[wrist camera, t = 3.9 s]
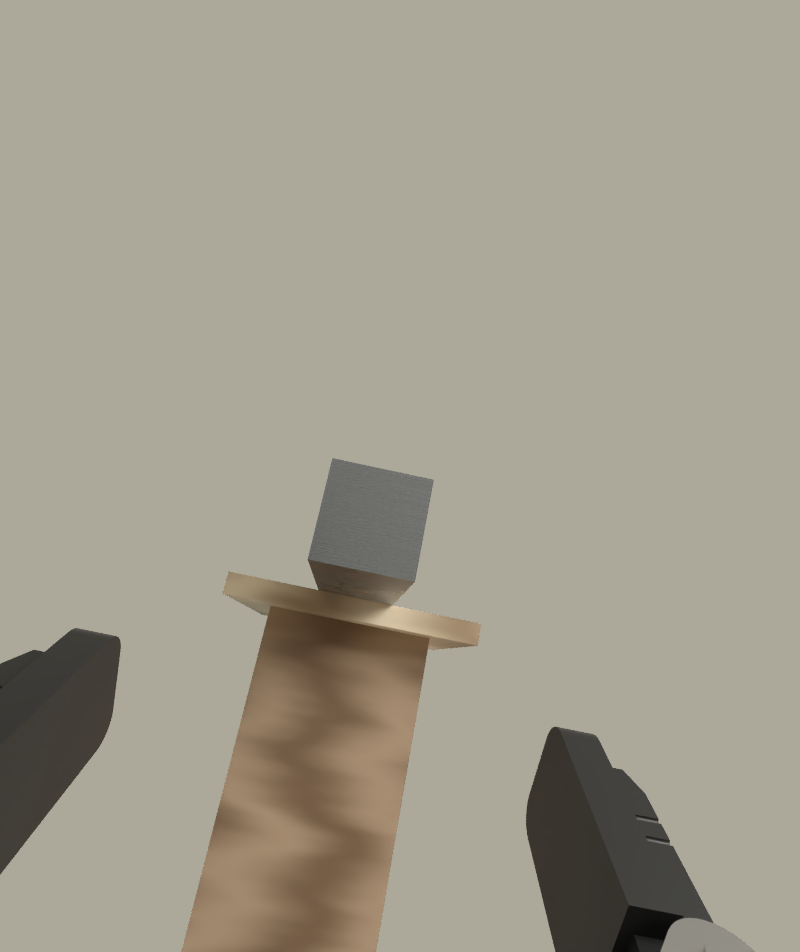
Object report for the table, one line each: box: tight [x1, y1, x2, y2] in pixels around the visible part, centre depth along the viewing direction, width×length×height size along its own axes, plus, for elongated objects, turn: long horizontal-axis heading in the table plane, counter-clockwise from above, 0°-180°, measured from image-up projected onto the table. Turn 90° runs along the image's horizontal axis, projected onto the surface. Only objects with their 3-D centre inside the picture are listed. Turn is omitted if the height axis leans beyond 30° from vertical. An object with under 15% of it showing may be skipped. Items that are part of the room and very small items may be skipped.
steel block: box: [308, 459, 433, 605], centre depth 31 cm, size 4×24×4 cm, turn 5°
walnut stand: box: [182, 572, 481, 952], centre depth 29 cm, size 14×14×32 cm
